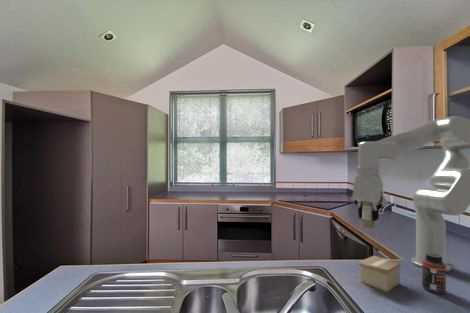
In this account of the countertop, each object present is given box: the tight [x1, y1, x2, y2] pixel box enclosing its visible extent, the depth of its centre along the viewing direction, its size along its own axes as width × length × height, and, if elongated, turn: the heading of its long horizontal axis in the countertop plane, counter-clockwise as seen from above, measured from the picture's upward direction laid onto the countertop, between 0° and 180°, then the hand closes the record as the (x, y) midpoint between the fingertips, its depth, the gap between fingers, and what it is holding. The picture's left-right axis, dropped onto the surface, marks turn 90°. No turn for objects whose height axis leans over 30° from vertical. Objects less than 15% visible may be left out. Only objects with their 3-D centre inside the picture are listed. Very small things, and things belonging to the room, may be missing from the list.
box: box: [360, 266, 401, 293], centre depth 82 cm, size 10×8×6 cm
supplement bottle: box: [421, 253, 447, 295], centre depth 79 cm, size 6×6×11 cm
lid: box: [358, 255, 401, 275], centre depth 82 cm, size 12×8×1 cm
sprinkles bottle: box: [361, 201, 375, 229], centre depth 95 cm, size 5×5×14 cm
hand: (368, 218), depth 95 cm, fingers closed on sprinkles bottle, 4 cm apart
